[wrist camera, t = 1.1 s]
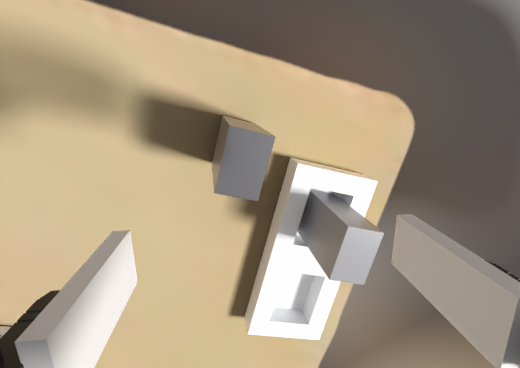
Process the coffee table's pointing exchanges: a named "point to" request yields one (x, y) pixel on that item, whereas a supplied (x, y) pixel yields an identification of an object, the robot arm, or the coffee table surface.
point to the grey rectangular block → (241, 158)
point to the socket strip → (293, 261)
